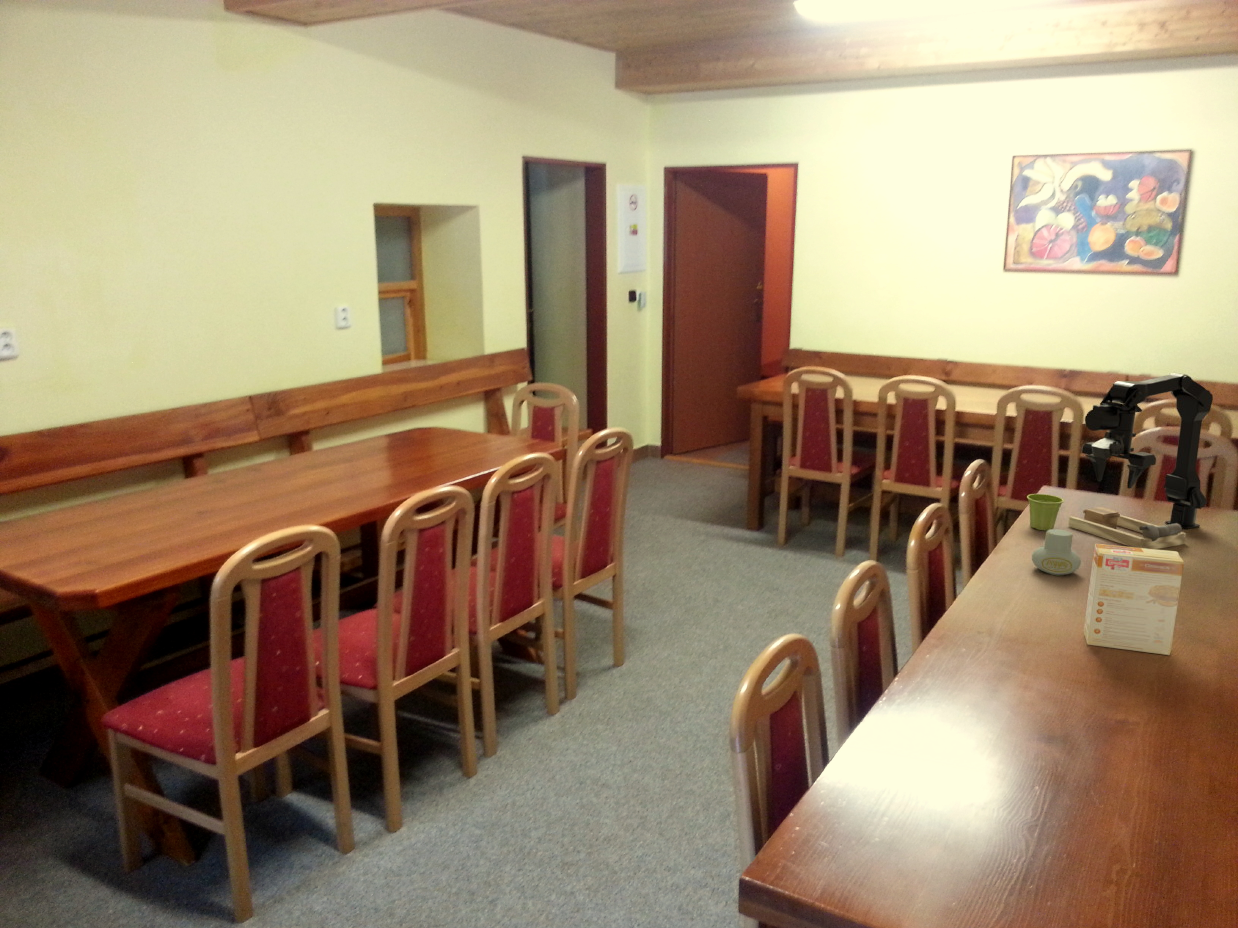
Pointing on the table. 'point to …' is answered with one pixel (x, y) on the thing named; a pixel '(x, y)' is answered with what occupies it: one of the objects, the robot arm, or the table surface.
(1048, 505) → the plant pot
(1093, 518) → the box
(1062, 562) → the air freshener
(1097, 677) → the table surface
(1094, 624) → the coffeecake box
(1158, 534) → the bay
